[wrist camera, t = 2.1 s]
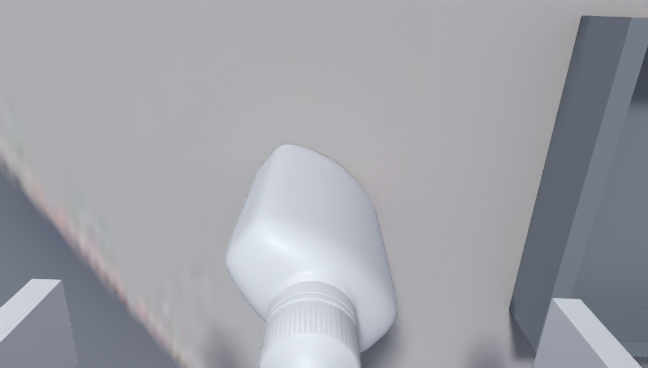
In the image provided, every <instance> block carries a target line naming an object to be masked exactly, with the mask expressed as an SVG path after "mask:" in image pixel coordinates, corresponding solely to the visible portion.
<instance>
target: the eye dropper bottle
mask: <svg viewBox="0 0 648 368" xmlns="http://www.w3.org/2000/svg"><path fill="white" fill-rule="evenodd" d="M225 261H226V266H227V271H228V273H229V275H230V277H231V279H232V280H233V282H234V284H235V285H236V287H237V289H238V290H239V292H240V293H241V295H242V296H243V297H244V299H245V300H246V301H247V303H248V304H249V305H250V306H251V308H252V309H253V310H254V311H255V312H256V313H257V314H258V315H259V316H260V318H261V319H262V320H263V321H265V322H266V325H265V331H264V336H263V341H262V346H261V352H260V357H259V363H258V368H361V358H360V352H363V351H365V350H367V349H368V348H369V347H371V346H372V345H373V344H374V343H376V342H377V341H378V340H379V339H380V338H381V337H382V336H383V335H384V334H385V333H386V332H387V331H388V330H389V329H390V328H391V326H392V325H393V323H394V321H395V319H396V317H397V303H396V296H395V291H394V286H393V281H392V277H391V273H390V269H389V264H388V260H387V256H386V251H385V247H384V243H383V239H382V235H381V231H380V226H379V222H378V218H377V214H376V211H375V209H374V207H373V205H372V203H371V201H370V199H369V198H368V196H367V195H366V193H365V192H364V190H363V189H362V187H361V186H360V185H359V184H358V183H357V181H356V180H355V179H354V178H353V177H352V176H351V175H350V174H349V173H348V172H346V171H345V170H344V169H343V168H342V167H340V166H339V165H338V164H336V163H335V162H333V161H332V160H330V159H328V158H326V157H325V156H323V155H321V154H319V153H316V152H314V151H311V150H309V149H306V148H303V147H299V146H295V145H290V144H289V145H281V146H280V147H278V148H277V149H276V150H275V151H274V152H273V153H272V154H271V155H270V157H269V158H268V159H267V160H266V162H265V163H264V164H263V165H262V167H261V168H260V169H259V171H258V172H257V175H256V177H255V179H254V182H253V184H252V187H251V189H250V192H249V194H248V197H247V199H246V201H245V204H244V206H243V209H242V211H241V214H240V216H239V219H238V221H237V224H236V226H235V229H234V232H233V235H232V237H231V240H230V243H229V246H228V249H227V251H226V256H225Z"/></svg>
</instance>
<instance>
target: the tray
mask: <svg viewBox="0 0 648 368" xmlns="http://www.w3.org/2000/svg"><path fill="white" fill-rule="evenodd" d="M552 298H565V299H581V301H582V302H583V303H584V304H585V305H586V306H587V307H588V308H589V309H590V311H591V312H592V313H593V314H594V315H595V316H596V317H597V318H598V319H599V321H600V322H601V323H602V324H603V325H604V326H605V327H606V328H607V329H608V331H609V332H610V333H611V334H612V335H613V336H614V337H615V338H616V339H617V341H618V342H619V343H620V344H621V345H622V346H623V347H624V348H625V349H626V351H627V352H628V353H629V354H630V355H631V356H632V357H648V18H629V17H602V16H582V18H581V22H580V26H579V30H578V34H577V38H576V42H575V46H574V50H573V54H572V58H571V62H570V66H569V70H568V74H567V79H566V83H565V87H564V91H563V95H562V99H561V103H560V107H559V111H558V115H557V119H556V123H555V127H554V131H553V135H552V139H551V143H550V147H549V151H548V155H547V159H546V163H545V167H544V171H543V175H542V179H541V183H540V187H539V191H538V195H537V199H536V204H535V208H534V212H533V216H532V220H531V224H530V228H529V232H528V236H527V240H526V244H525V248H524V252H523V256H522V260H521V264H520V268H519V272H518V276H517V280H516V284H515V288H514V292H513V296H512V300H511V304H510V308H509V310H510V312H511V314H512V315H513V317H514V319H515V320H516V322H517V324H518V325H519V327H520V329H521V330H522V332H523V334H524V335H525V337H526V339H527V340H528V342H529V343H530V345H531V347H532V348H533V350H534V352H535V353H537V351H538V347H539V344H540V340H541V336H542V333H543V329H544V325H545V322H546V318H547V315H548V311H549V307H550V304H551V300H552Z"/></svg>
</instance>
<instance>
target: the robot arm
mask: <svg viewBox="0 0 648 368" xmlns="http://www.w3.org/2000/svg"><path fill="white" fill-rule="evenodd" d="M77 362H78V360H77V355H76V350H75V345H74V340H73V335H72V330H71V325H70V320H69V315H68V310H67V305H66V300H65V295H64V290H63V285H62V280H47V279H46V280H45V279H32V280H31V281H30V282H28V283H27V284H26V285H25V286H24V287H23V288H22V289H21V290H20V291H19V292H17V294H15V295H14V296H13V297H12V298H11V299H10V300H9V301H8V302H7V303H5V304H4V305H3V306H2V307H1V308H0V368H74V367H75V365H76V364H77ZM533 368H642V367H641V366H640V365H639V364H638V363H637V362H636V361H635V359H634V358H633V357H632V356H631V355H630V354H629V353H628V352H627V351H626V349H625V348H624V347H623V346H622V345H621V344H620V343H619V342H618V341H617V339H616V338H615V337H614V336H613V335H612V334H611V333H610V332H609V331H608V329H607V328H606V327H605V326H604V325H603V324H602V323H601V322H600V321H599V319H598V318H597V317H596V316H595V315H594V314H593V313H592V312H591V311H590V309H589V308H588V307H587V306H586V305H585V304H584V303H583V302H582V301H581V299H565V298H552V300H551V304H550V307H549V311H548V315H547V318H546V322H545V325H544V329H543V333H542V336H541V340H540V344H539V347H538V351H537V354H536V358H535V362H534V365H533Z"/></svg>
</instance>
